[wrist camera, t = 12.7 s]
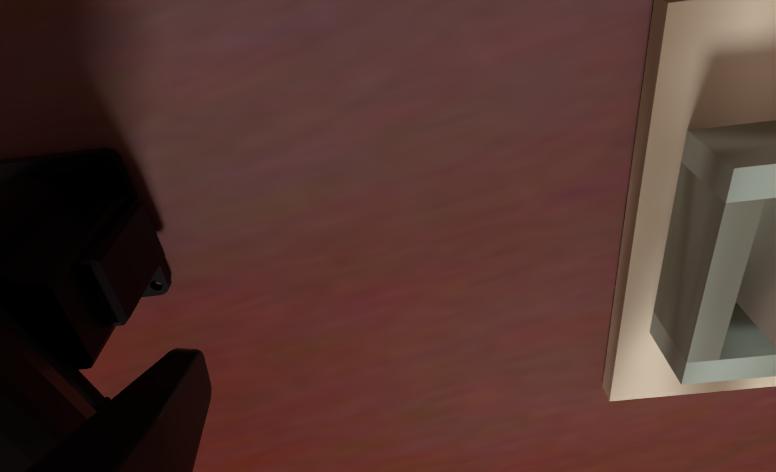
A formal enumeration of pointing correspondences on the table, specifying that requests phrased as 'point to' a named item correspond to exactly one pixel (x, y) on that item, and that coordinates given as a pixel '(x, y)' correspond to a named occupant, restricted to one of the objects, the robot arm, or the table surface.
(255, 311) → the table surface
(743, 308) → the connector plug
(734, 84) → the end holder
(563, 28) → the table surface
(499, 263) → the table surface
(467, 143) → the table surface
